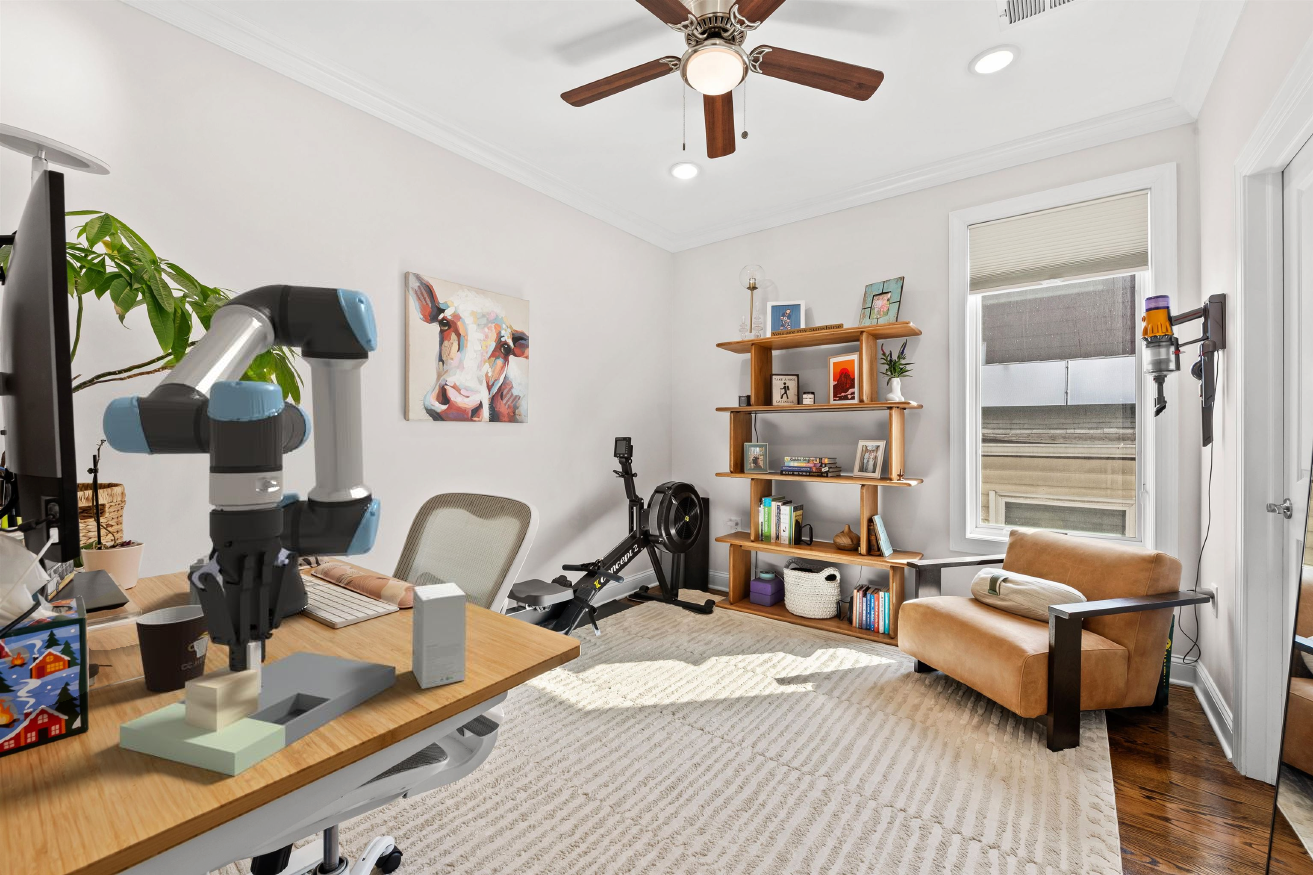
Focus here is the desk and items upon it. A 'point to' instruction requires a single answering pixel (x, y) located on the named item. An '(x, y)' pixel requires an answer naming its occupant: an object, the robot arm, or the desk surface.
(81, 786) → the desk surface
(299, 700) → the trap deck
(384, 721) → the desk surface
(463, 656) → the small box
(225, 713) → the maple block
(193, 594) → the cassette player
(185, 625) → the coffee mug
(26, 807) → the desk surface
